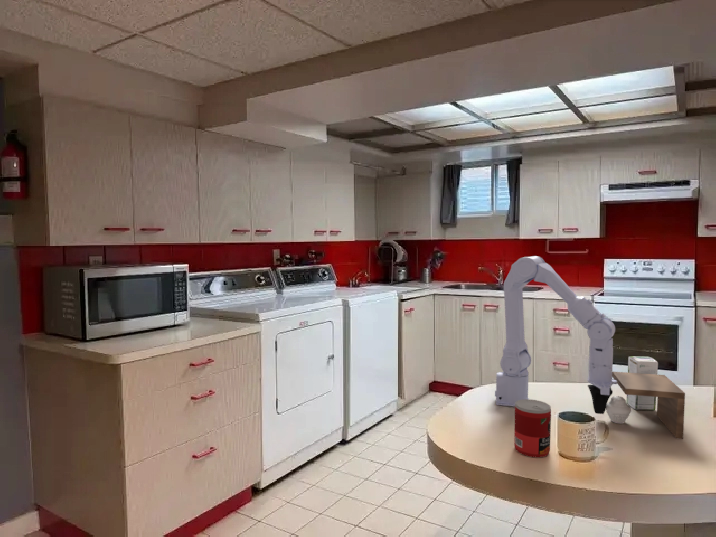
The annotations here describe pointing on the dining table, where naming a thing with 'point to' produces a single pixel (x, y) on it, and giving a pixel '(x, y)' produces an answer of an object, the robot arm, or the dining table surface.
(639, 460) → the dining table surface
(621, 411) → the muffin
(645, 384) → the walnut shelf
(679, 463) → the dining table surface
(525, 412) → the canned food
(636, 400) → the syrup box
